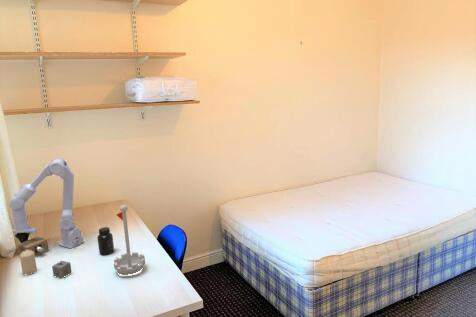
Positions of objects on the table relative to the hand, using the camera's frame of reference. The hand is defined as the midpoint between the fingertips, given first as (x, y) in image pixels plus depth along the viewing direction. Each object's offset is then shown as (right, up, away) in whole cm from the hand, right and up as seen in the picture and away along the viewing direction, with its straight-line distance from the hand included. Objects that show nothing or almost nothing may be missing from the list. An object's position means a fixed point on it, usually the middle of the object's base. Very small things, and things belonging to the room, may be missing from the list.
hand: (25, 246), depth 184 cm
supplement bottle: (+42, -2, -4) cm, 42 cm away
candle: (+14, -7, -20) cm, 25 cm away
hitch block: (+6, -3, -3) cm, 7 cm away
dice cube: (+30, -7, -23) cm, 38 cm away
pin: (+7, -2, -3) cm, 8 cm away
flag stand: (+58, -6, -22) cm, 62 cm away
